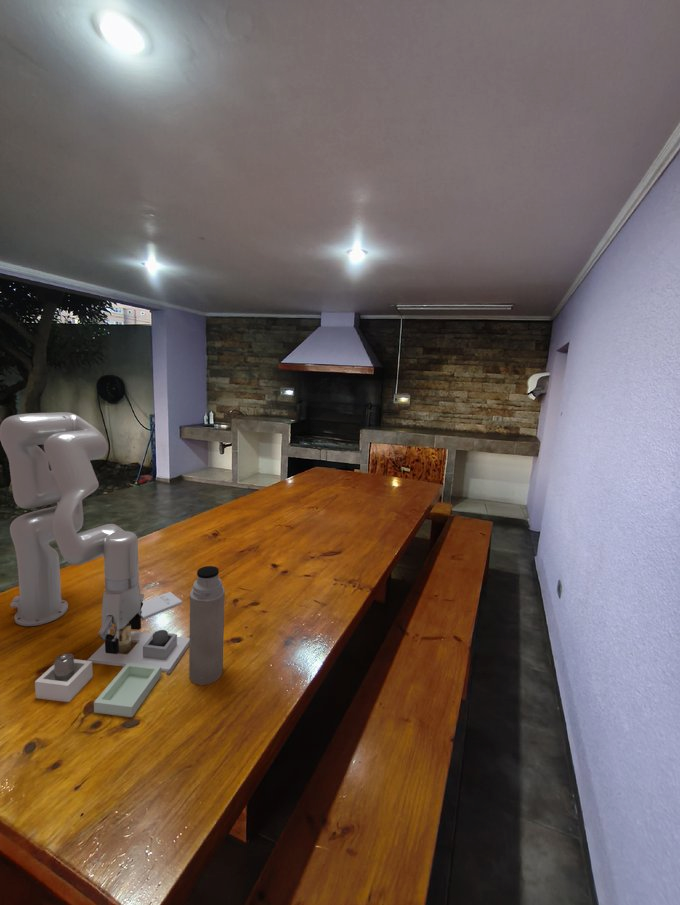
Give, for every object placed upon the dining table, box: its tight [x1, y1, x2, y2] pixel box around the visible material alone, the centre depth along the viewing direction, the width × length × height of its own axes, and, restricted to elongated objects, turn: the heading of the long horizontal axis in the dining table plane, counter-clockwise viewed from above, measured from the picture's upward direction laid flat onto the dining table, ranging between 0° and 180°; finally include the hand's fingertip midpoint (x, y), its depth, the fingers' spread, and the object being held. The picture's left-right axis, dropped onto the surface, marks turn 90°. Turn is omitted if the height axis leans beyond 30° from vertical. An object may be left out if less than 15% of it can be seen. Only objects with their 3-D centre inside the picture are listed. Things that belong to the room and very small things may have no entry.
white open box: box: [34, 658, 94, 703], centre depth 89 cm, size 8×8×5 cm
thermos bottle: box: [188, 565, 226, 686], centre depth 96 cm, size 8×8×28 cm
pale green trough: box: [93, 663, 162, 718], centre depth 89 cm, size 8×12×3 cm
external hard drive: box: [139, 591, 183, 621], centre depth 124 cm, size 2×8×12 cm
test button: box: [152, 629, 169, 647], centre depth 102 cm, size 4×4×4 cm
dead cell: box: [53, 653, 75, 682], centre depth 89 cm, size 4×4×8 cm
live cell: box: [115, 622, 132, 654], centre depth 103 cm, size 4×4×8 cm
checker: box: [87, 630, 190, 676], centre depth 103 cm, size 21×12×4 cm, turn 86°
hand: (124, 640), depth 103 cm, fingers open, 9 cm apart
